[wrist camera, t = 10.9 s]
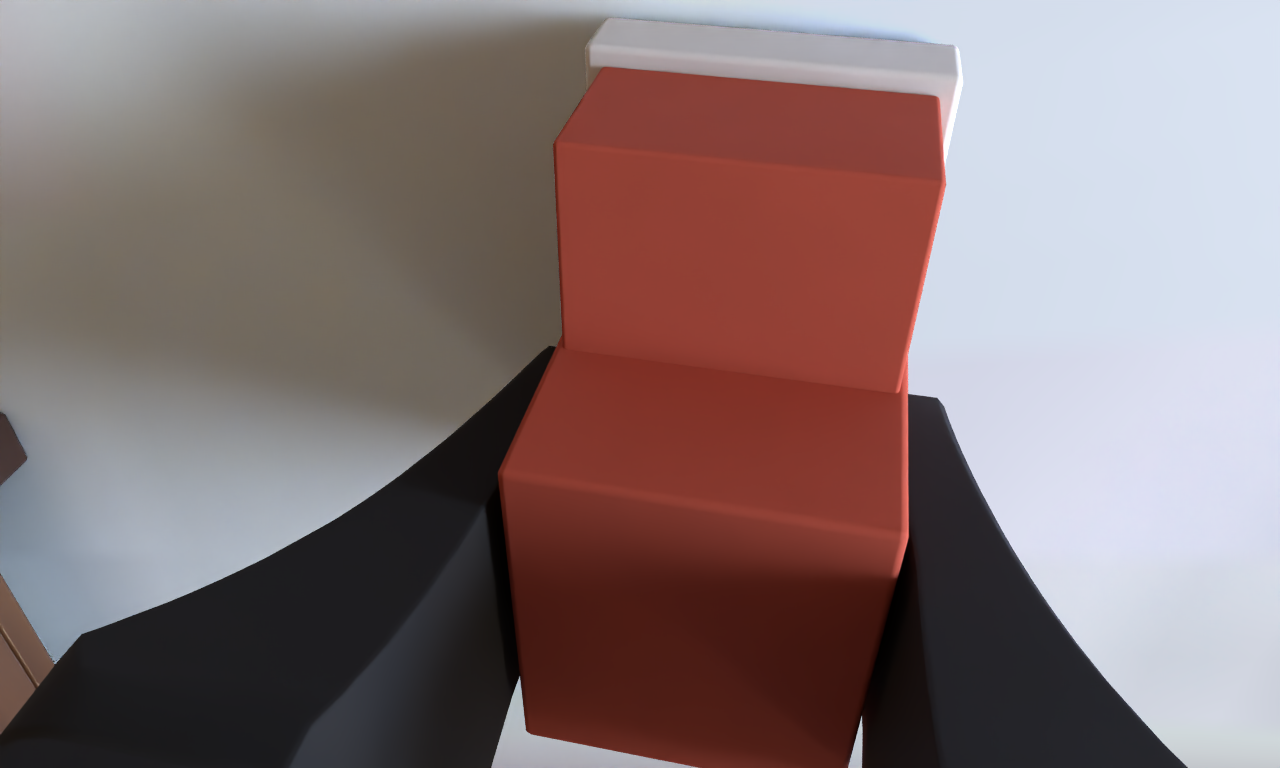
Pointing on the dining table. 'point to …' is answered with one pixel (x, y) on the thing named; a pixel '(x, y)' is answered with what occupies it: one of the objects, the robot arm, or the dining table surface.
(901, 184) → the stepped red block
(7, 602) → the brown flanged block
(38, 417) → the dining table surface
